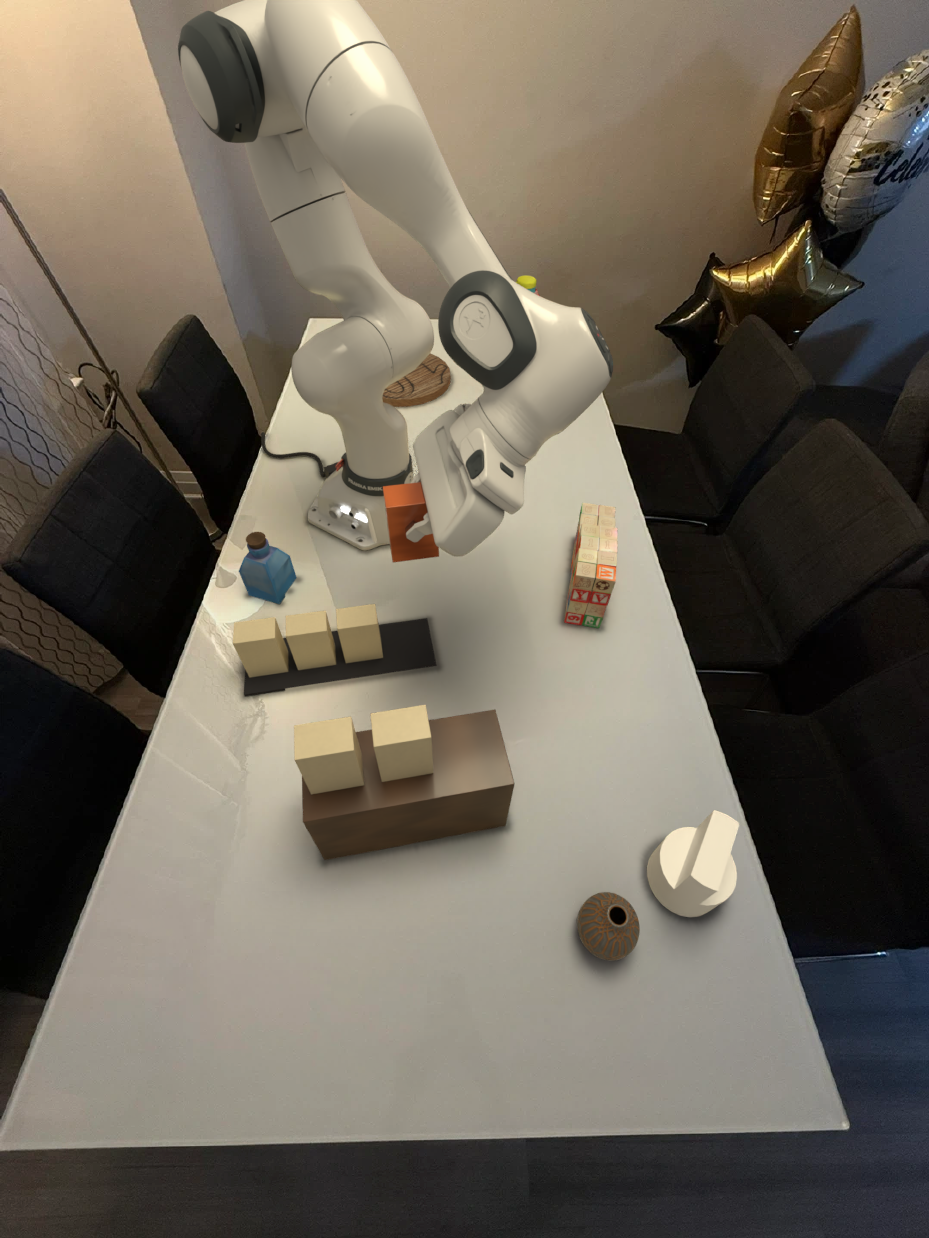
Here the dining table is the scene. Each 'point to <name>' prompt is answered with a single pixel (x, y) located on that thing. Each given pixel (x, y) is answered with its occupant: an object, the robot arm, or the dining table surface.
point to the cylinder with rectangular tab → (695, 866)
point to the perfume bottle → (266, 569)
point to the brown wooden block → (401, 779)
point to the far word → (328, 648)
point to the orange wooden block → (407, 522)
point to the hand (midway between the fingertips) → (406, 522)
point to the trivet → (419, 384)
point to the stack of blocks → (592, 566)
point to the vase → (608, 926)
